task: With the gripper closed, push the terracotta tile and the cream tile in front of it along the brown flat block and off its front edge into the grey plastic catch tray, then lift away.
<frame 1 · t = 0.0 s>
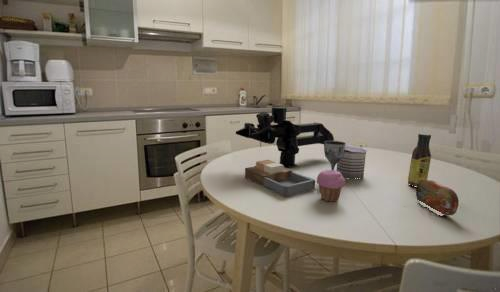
hand: (242, 134, 118), 17 cm above the table, tool horizontal, fingers open, 9 cm apart
tray: (288, 188, 106), on the table
wine glass: (331, 180, 117), on the table
cupcake: (328, 199, 97), on the table
tile back: (265, 167, 117), point 4 cm above the table, touching brown flat block
brown flat block: (268, 178, 116), on the table
reddish-brown rounded block: (433, 210, 90), on the table
can: (349, 175, 123), on the table
sauce bottle: (416, 186, 111), on the table
tile front: (273, 171, 113), point 4 cm above the table, touching brown flat block
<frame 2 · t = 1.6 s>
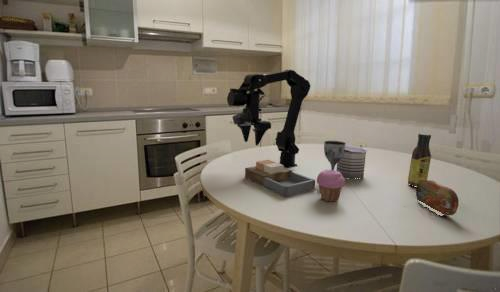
hand: (251, 143, 123), 12 cm above the table, tool pointing down, fingers open, 8 cm apart
nothing on the table moved.
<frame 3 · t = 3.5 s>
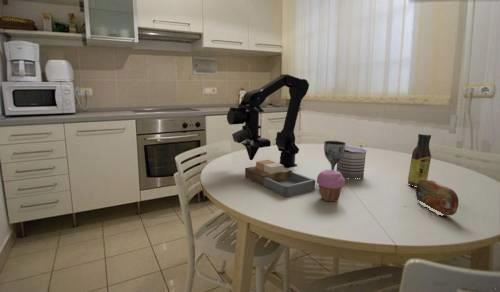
hand: (251, 159, 124), 5 cm above the table, tool pointing down, fingers closed
nothing on the table moved.
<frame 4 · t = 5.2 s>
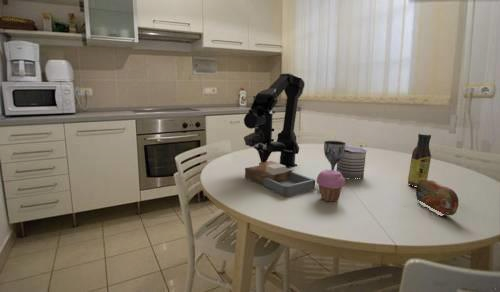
hand: (263, 164, 117), 5 cm above the table, tool pointing down, fingers closed
tile back: (268, 169, 115), point 4 cm above the table, touching gripper, tile front
tile front: (275, 172, 112), point 4 cm above the table, touching brown flat block, tile back
everything else where it was.
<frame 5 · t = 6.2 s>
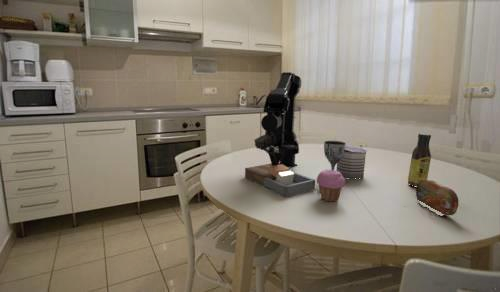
hand: (274, 168, 112), 5 cm above the table, tool pointing down, fingers closed
tile back: (278, 173, 110), point 4 cm above the table, tilted 8°, touching gripper, brown flat block, tile front
tile front: (282, 176, 108), point 3 cm above the table, tilted 107°, touching tile back, tray
everything else where it was.
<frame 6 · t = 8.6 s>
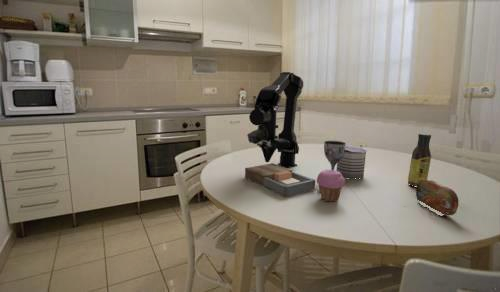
hand: (267, 162, 115), 7 cm above the table, tool pointing down, fingers closed
tile back: (280, 177, 109), point 3 cm above the table, tilted 90°, touching tray
tile front: (289, 180, 105), point 3 cm above the table, tilted 180°, touching tray
everything else where it was.
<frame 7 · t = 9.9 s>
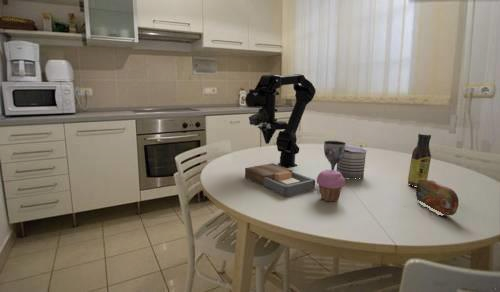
hand: (267, 143, 124), 12 cm above the table, tool pointing down, fingers closed
nothing on the table moved.
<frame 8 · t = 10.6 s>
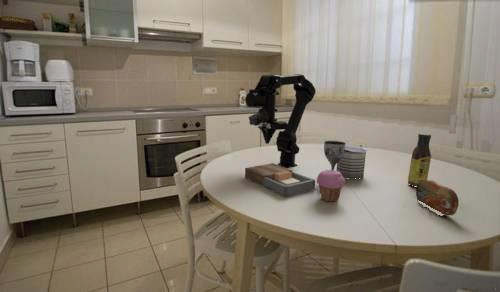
hand: (267, 143, 124), 12 cm above the table, tool pointing down, fingers closed
nothing on the table moved.
at the end: tile front inside the target area on the tray (1.3 cm from its centre), point 3.0 cm above the tray's base; tile back inside the target area on the tray (3.7 cm from its centre), point 2.7 cm above the tray's base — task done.
